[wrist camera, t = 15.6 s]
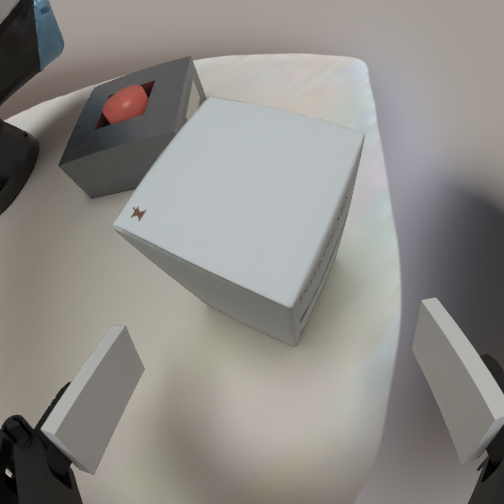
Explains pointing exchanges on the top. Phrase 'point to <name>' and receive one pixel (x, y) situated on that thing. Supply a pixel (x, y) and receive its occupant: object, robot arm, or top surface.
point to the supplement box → (248, 210)
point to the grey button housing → (131, 128)
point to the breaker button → (126, 104)
